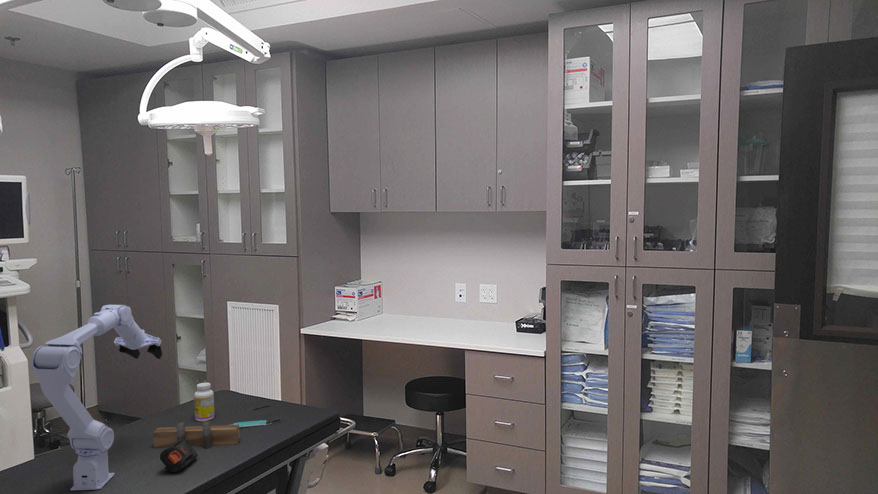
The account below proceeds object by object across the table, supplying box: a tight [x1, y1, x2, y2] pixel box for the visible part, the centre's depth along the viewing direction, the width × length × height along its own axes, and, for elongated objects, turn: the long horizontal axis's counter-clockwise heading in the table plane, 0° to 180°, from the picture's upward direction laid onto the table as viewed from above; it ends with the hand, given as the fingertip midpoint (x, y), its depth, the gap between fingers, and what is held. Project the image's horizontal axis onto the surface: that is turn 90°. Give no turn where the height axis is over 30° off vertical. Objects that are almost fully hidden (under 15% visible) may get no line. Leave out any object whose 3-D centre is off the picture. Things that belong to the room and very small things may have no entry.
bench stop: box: [152, 420, 241, 449], centre depth 198 cm, size 6×26×8 cm, turn 95°
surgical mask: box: [231, 405, 281, 429], centre depth 216 cm, size 21×4×10 cm
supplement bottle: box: [193, 382, 215, 423], centre depth 222 cm, size 7×7×13 cm
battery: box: [159, 438, 199, 473], centre depth 183 cm, size 12×8×7 cm
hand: (149, 356), depth 198 cm, fingers open, 7 cm apart
